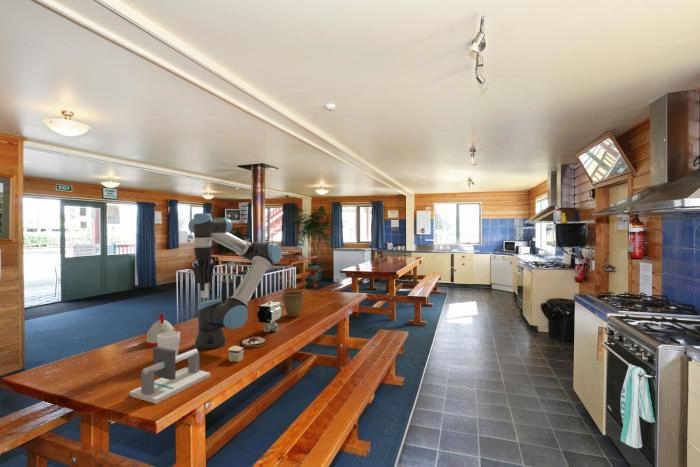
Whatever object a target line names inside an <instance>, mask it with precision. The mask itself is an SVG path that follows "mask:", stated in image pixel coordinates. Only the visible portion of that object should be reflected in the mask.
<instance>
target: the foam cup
mask: <svg viewBox="0 0 700 467" xmlns="http://www.w3.org/2000/svg"><path fill="white" fill-rule="evenodd" d="M181 333H182V332H180V331H177V330H175V331H169V332H164V333H160V334H158V335H157V343H158V346H157V347H162V348H167V349H172V350H175V356H178V355H179V348H180V342H181V336H182V335H181Z"/></svg>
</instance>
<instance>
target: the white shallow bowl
mask: <svg viewBox="0 0 700 467" xmlns="http://www.w3.org/2000/svg"><path fill="white" fill-rule="evenodd" d="M266 343H267V340H266V339H265V338H264V337H262V336H252V337H248V338H244V339H242V340H241V347H242V348H248V349H254V348H255V349H256V348H257V349H258V348H261V347H263V346H265V344H266Z"/></svg>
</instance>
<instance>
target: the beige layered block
mask: <svg viewBox="0 0 700 467" xmlns="http://www.w3.org/2000/svg"><path fill="white" fill-rule="evenodd" d="M243 349H244V347H243V346H238V345H232V346H230V347H229V348H228V349H227V350H228V352H227V353H228V356H227V357H228V362H237V363H239V362H241V361H242V360H244V356H245V354H244V352H245V350H243Z"/></svg>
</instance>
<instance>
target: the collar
mask: <svg viewBox="0 0 700 467" xmlns="http://www.w3.org/2000/svg"><path fill="white" fill-rule="evenodd" d="M152 350H153V352H152V357H153V358H152V359H153V365H154V364H157V363H160V362H161V361H166V367H165V368H163V369H160V370H157V371H155V372H154V377H158V378H165V379H169V380H174V379H175V372H176V363H175V350H172V349H167V348H162V347H158V346H153V347H152Z"/></svg>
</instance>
